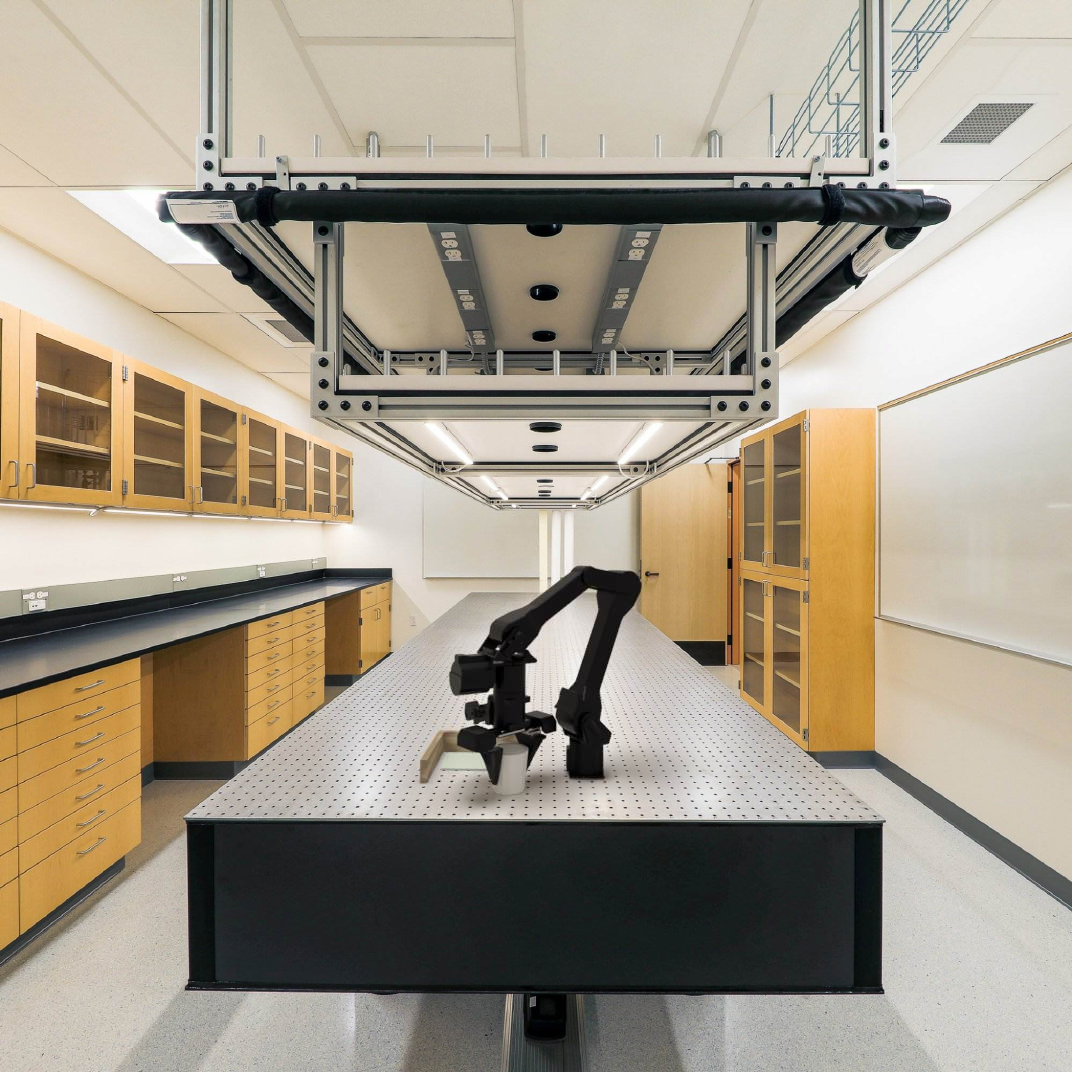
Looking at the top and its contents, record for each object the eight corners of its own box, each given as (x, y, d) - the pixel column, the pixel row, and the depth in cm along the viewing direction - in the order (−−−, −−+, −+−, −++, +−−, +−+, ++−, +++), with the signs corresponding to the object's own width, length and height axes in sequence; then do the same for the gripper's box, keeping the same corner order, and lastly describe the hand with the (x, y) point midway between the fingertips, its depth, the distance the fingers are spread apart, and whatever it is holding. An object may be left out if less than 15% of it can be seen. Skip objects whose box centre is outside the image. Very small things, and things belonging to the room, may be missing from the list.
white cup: (507, 778, 109) (507, 739, 109) (536, 787, 104) (536, 747, 104) (480, 789, 103) (481, 748, 103) (510, 800, 99) (510, 757, 99)
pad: (492, 754, 121) (492, 753, 121) (487, 770, 112) (487, 768, 112) (448, 753, 121) (448, 752, 122) (440, 769, 112) (440, 768, 113)
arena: (524, 750, 124) (524, 731, 124) (520, 784, 106) (520, 761, 106) (438, 749, 124) (439, 730, 124) (419, 782, 106) (420, 760, 106)
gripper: (518, 675, 117) (517, 756, 116) (438, 690, 104) (437, 780, 103) (558, 684, 108) (558, 771, 108) (478, 701, 96) (477, 800, 95)
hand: (508, 779), depth 104 cm, fingers closed on white cup, 6 cm apart
